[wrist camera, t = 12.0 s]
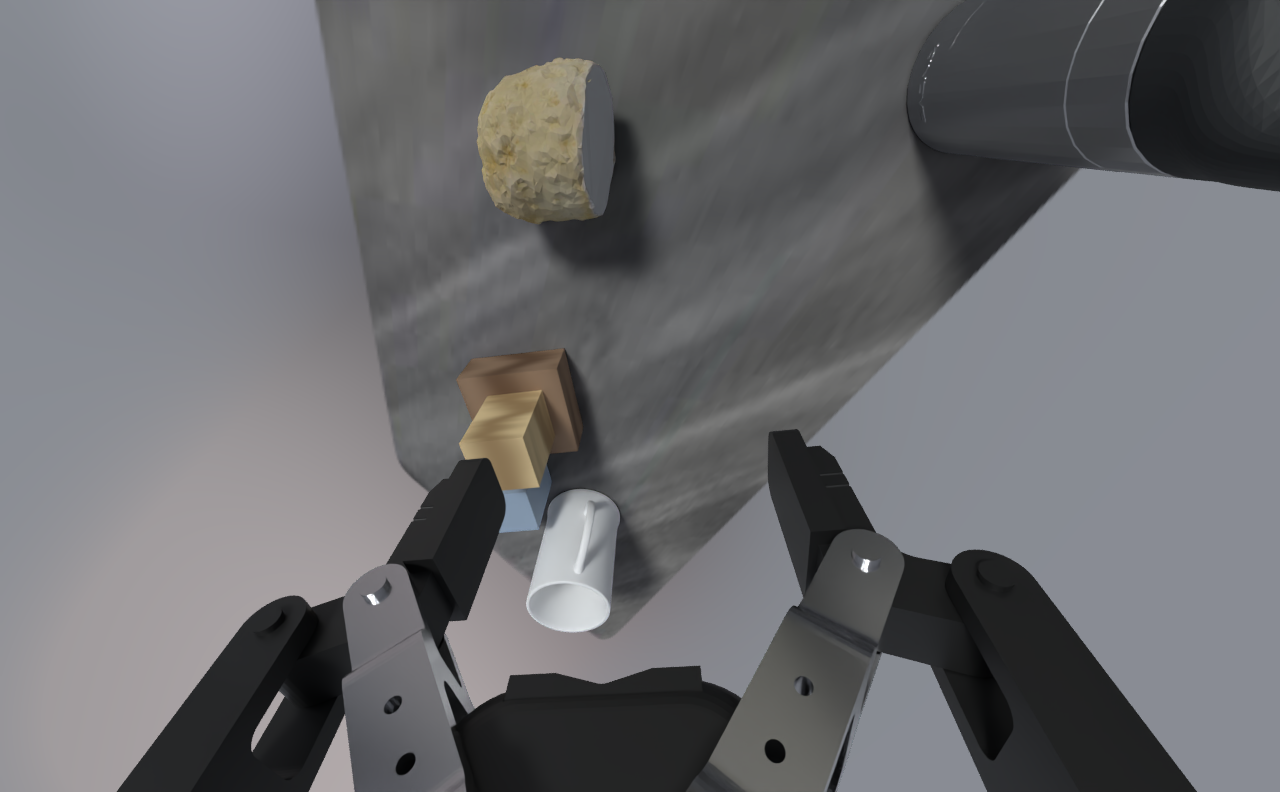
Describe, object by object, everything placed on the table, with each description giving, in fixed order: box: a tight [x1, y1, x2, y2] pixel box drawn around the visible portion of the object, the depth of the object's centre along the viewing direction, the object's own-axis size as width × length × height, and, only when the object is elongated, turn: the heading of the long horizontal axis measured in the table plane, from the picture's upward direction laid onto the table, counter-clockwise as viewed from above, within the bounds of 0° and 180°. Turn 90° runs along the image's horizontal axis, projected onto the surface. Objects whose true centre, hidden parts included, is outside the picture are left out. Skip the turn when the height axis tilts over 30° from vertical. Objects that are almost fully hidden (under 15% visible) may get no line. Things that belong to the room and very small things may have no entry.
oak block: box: [459, 390, 555, 491], centre depth 38 cm, size 5×5×7 cm
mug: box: [526, 489, 620, 632], centre depth 47 cm, size 12×8×12 cm
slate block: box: [499, 464, 552, 533], centre depth 47 cm, size 5×5×7 cm
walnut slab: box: [456, 349, 583, 454], centre depth 43 cm, size 9×9×4 cm
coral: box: [477, 58, 616, 224], centre depth 29 cm, size 10×10×10 cm
